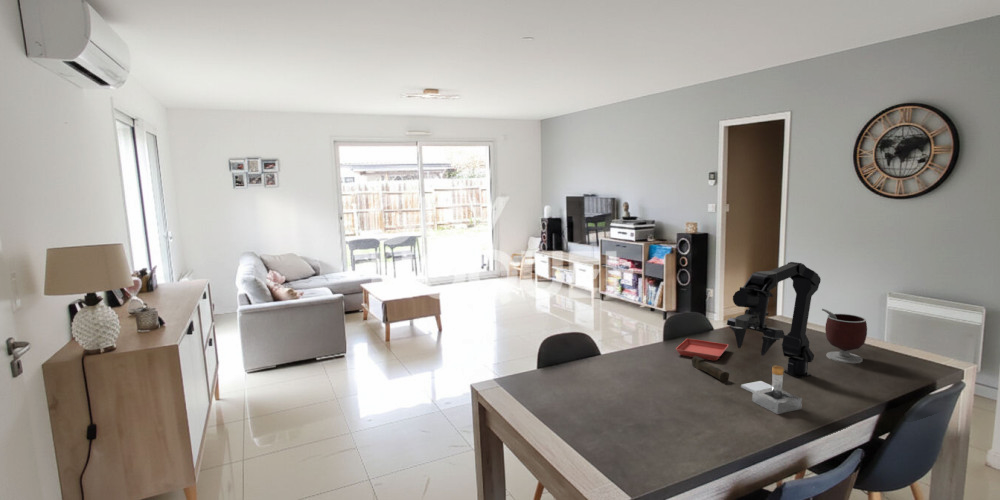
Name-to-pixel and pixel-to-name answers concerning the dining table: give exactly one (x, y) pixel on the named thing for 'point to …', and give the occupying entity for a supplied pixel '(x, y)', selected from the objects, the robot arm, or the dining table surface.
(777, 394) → the silver metal peg
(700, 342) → the plant saucer
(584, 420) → the dining table surface
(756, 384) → the rubber mat
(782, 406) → the block
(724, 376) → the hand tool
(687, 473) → the dining table surface
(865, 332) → the mate gourd
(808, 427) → the dining table surface
